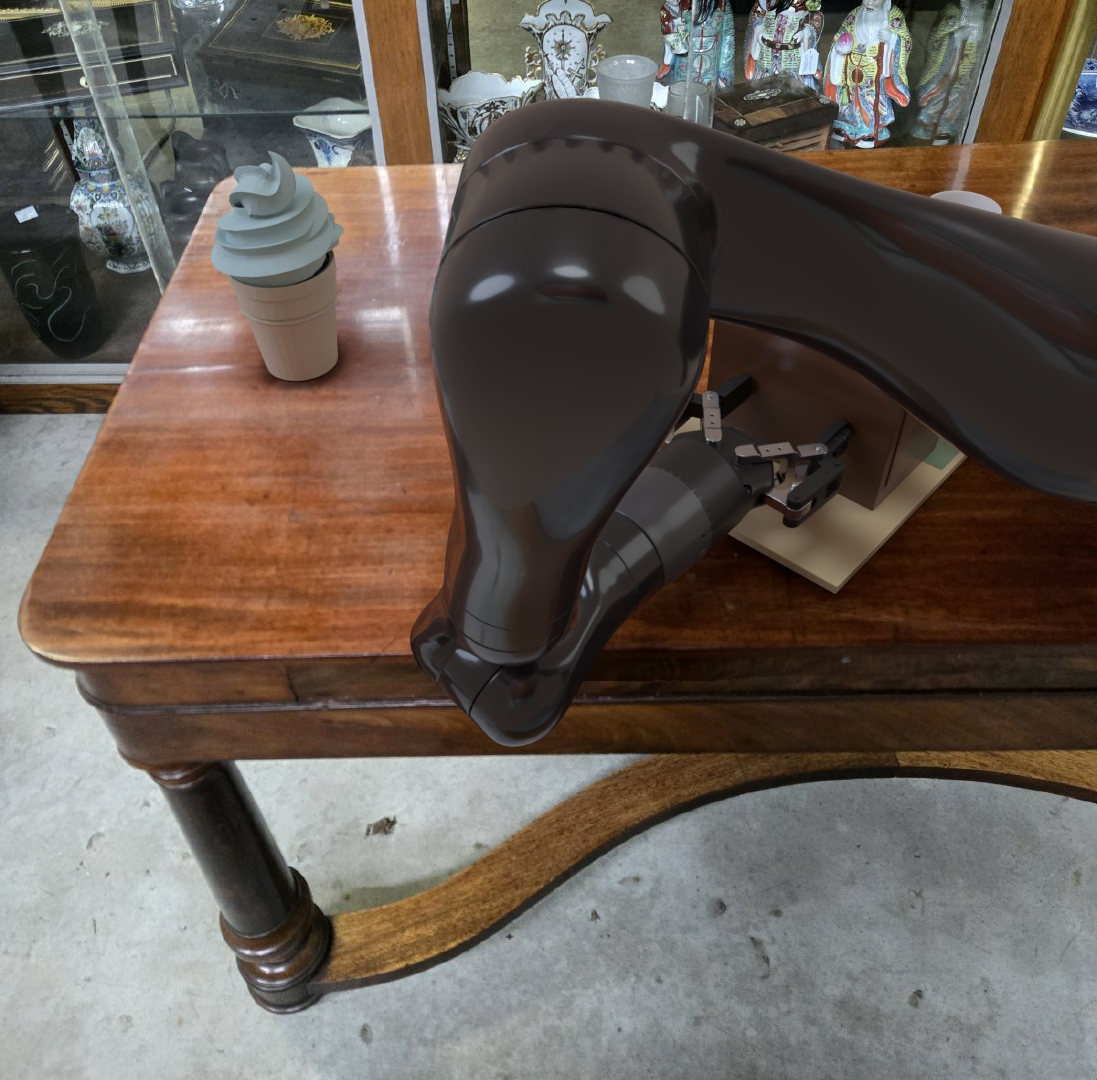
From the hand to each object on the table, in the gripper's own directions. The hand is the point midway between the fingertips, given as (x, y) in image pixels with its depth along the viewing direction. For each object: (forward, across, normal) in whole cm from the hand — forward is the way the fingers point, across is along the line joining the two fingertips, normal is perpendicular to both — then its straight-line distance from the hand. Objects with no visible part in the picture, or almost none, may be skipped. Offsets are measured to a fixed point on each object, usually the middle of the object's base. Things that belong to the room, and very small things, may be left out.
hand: (794, 406), depth 79 cm
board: (+5, 0, +7) cm, 9 cm away
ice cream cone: (-16, +42, +7) cm, 45 cm away
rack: (+5, 0, +6) cm, 8 cm away
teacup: (+42, +6, +7) cm, 43 cm away
